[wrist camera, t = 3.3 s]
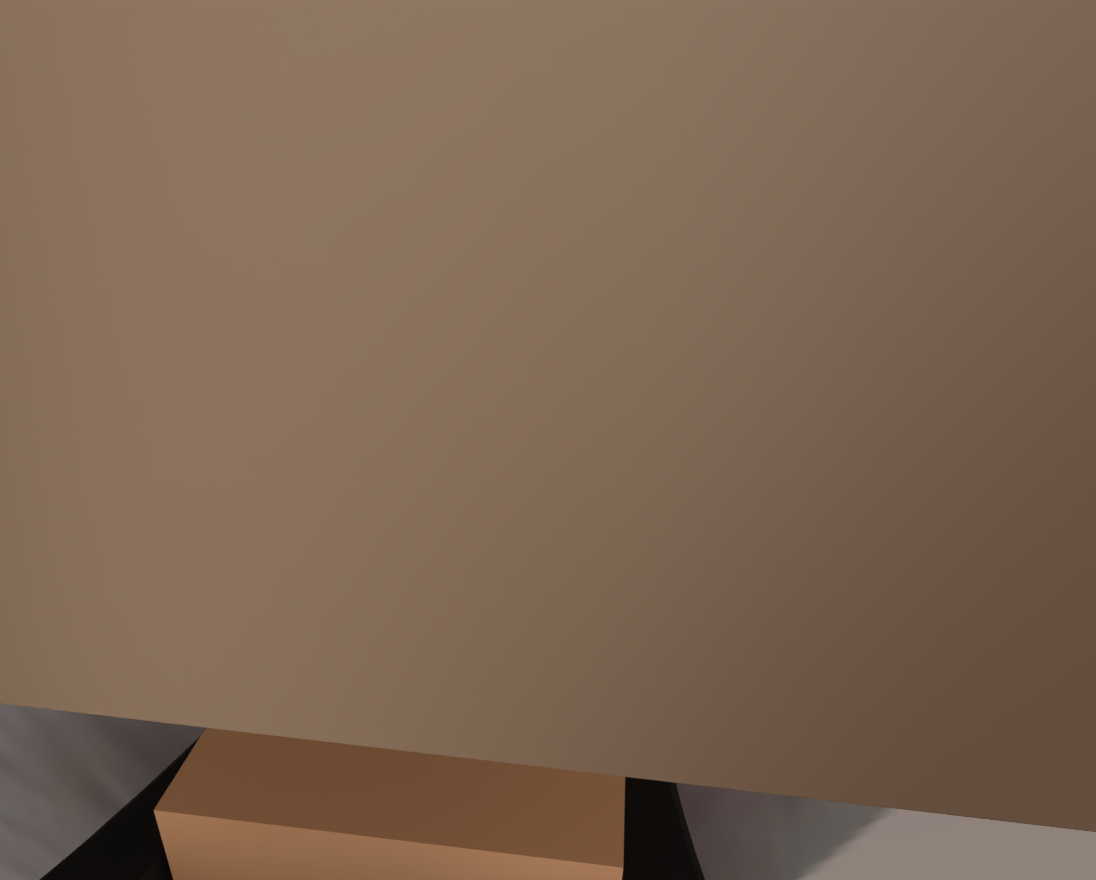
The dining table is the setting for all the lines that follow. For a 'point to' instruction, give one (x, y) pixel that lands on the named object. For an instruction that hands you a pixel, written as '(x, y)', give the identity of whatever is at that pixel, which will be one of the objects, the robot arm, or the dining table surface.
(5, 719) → the dining table surface
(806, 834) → the dining table surface
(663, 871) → the robot arm
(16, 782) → the dining table surface
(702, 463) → the wooden box
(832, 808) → the dining table surface
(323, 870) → the block
